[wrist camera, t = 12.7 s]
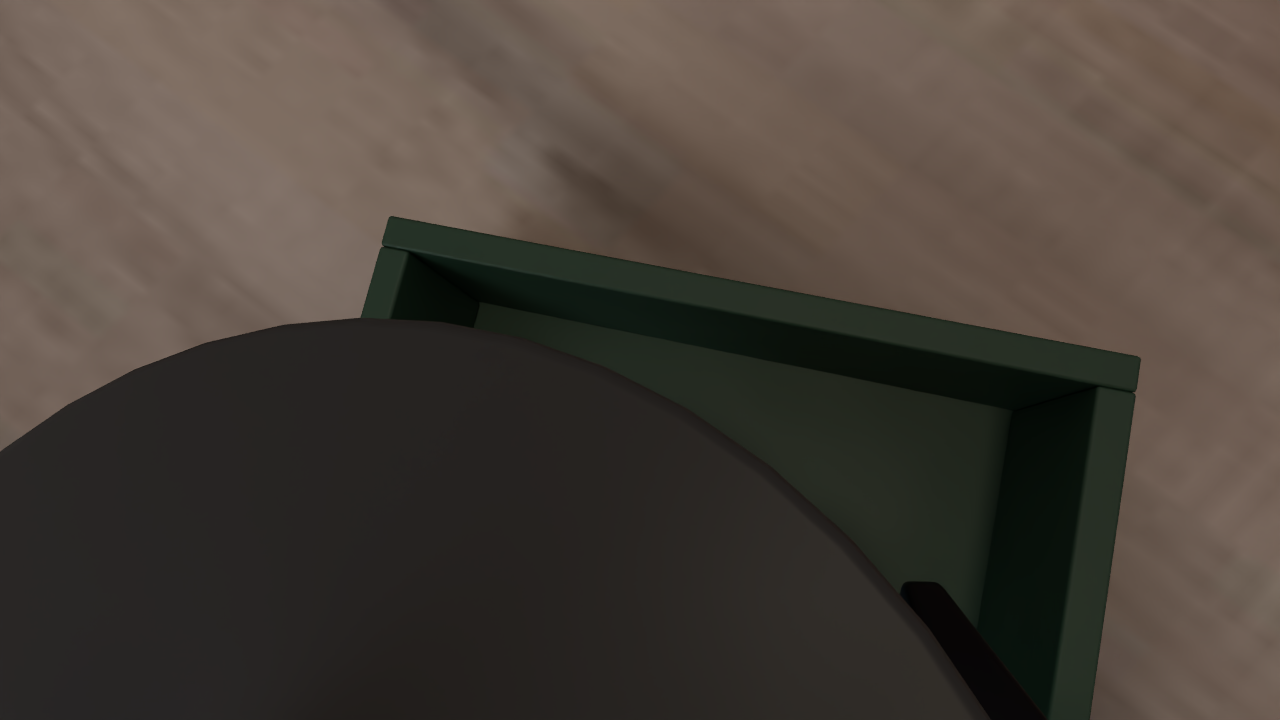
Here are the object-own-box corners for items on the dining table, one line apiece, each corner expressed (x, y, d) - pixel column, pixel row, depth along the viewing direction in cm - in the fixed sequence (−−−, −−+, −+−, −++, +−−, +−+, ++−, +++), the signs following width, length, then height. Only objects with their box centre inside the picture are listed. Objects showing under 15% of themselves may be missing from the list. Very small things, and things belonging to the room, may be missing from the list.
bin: (931, 1053, 15) (1010, 1288, 11) (319, 845, 17) (172, 968, 13) (1037, 391, 17) (1142, 356, 12) (470, 279, 19) (388, 214, 14)
